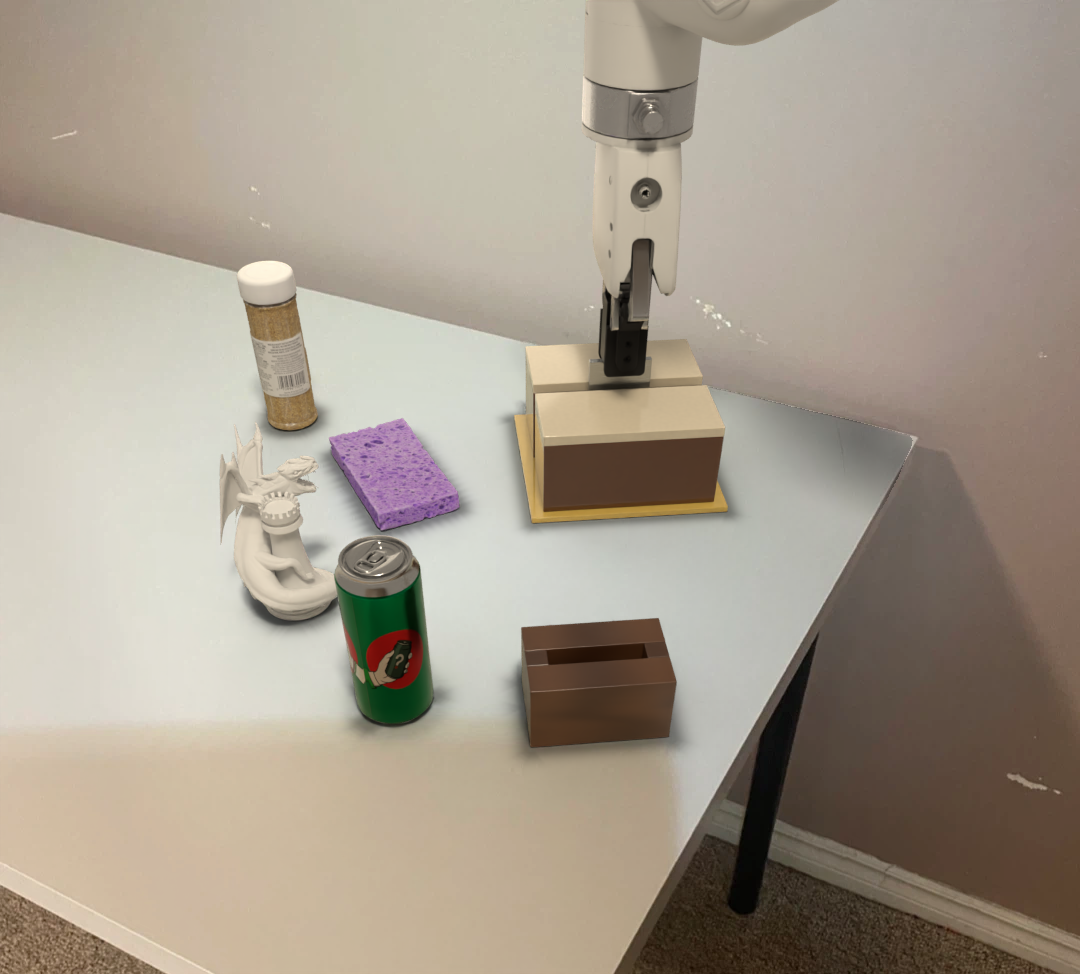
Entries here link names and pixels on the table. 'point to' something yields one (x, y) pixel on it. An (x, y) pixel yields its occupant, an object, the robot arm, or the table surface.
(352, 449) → the sponge
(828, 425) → the table surface
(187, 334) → the table surface
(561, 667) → the knife stand
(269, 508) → the figurine
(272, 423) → the spice jar
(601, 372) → the knife
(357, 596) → the soda can
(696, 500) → the cake
